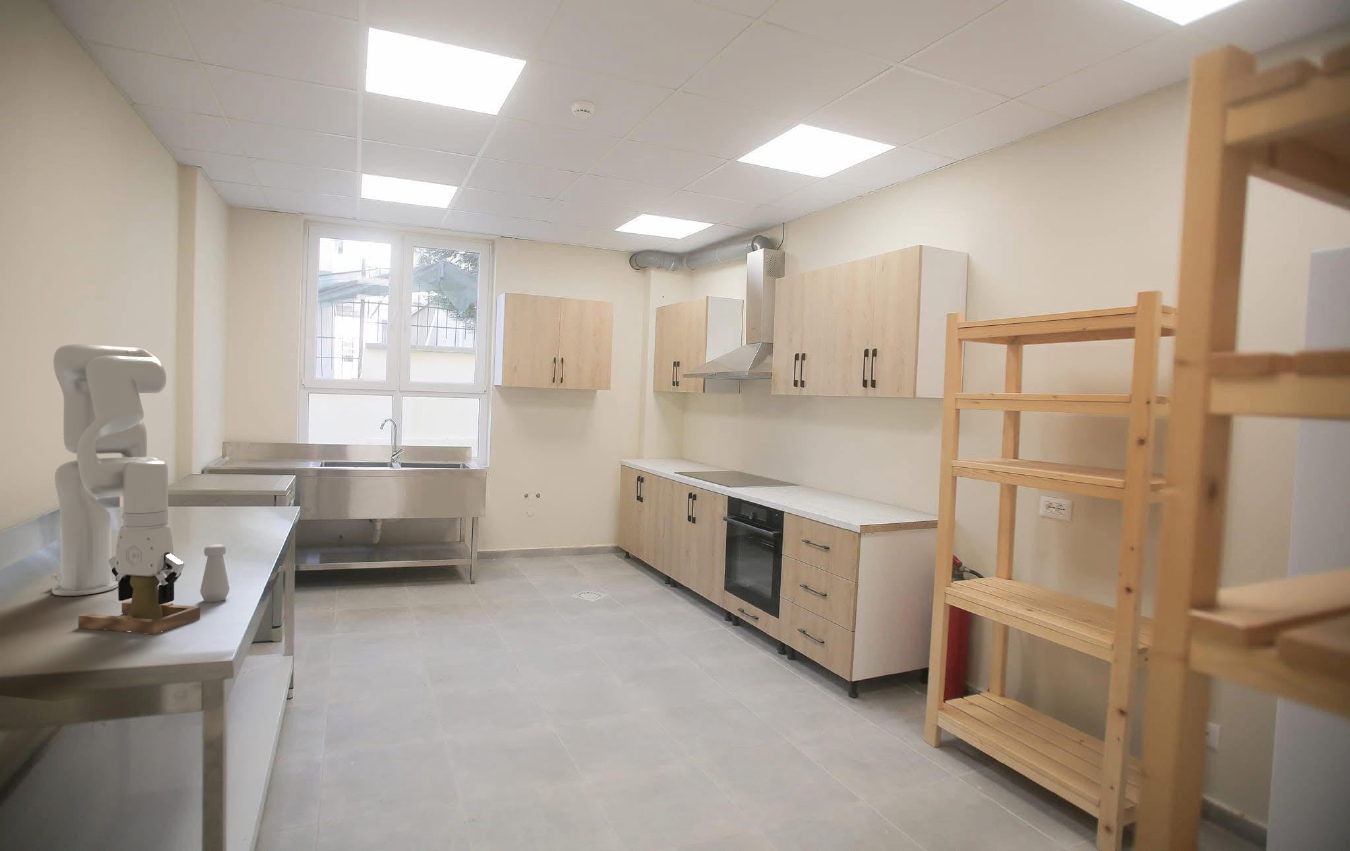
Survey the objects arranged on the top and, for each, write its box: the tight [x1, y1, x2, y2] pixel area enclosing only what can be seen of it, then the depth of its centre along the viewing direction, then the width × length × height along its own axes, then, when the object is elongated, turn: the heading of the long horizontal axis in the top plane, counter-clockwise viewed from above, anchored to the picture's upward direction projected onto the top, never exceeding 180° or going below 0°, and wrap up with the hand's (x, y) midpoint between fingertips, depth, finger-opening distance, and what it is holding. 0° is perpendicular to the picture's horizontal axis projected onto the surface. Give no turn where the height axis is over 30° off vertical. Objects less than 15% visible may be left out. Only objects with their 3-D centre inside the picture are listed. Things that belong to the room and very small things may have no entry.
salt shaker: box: [199, 543, 231, 603], centre depth 167 cm, size 6×6×13 cm
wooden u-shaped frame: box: [77, 600, 201, 635], centre depth 150 cm, size 18×11×3 cm, turn 80°
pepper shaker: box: [128, 576, 163, 620], centre depth 149 cm, size 6×6×11 cm
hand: (146, 600), depth 149 cm, fingers open, 9 cm apart
